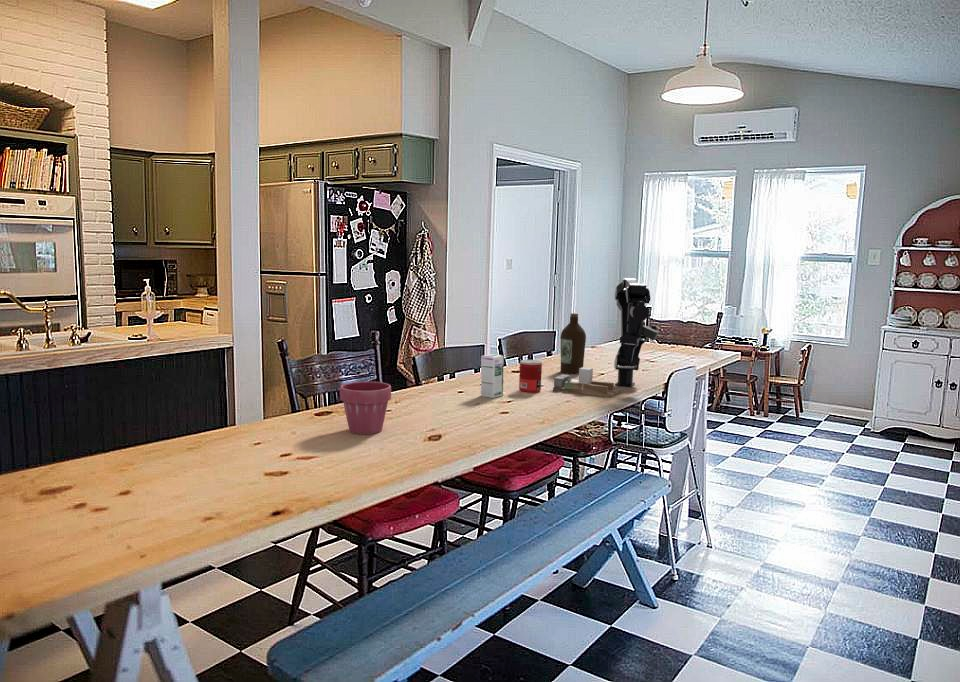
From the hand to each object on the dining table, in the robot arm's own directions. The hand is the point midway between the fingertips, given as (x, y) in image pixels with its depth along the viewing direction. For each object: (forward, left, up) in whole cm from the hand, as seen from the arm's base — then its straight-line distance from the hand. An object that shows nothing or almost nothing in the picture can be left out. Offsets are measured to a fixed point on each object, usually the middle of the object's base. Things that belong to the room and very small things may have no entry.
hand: (633, 360), depth 263 cm
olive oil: (-29, -33, -12) cm, 46 cm away
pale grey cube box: (+8, -18, -11) cm, 22 cm away
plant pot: (+96, -51, -12) cm, 109 cm away
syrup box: (+34, -41, -12) cm, 55 cm away
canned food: (+18, -33, -12) cm, 39 cm away
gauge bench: (+7, -15, -12) cm, 20 cm away
